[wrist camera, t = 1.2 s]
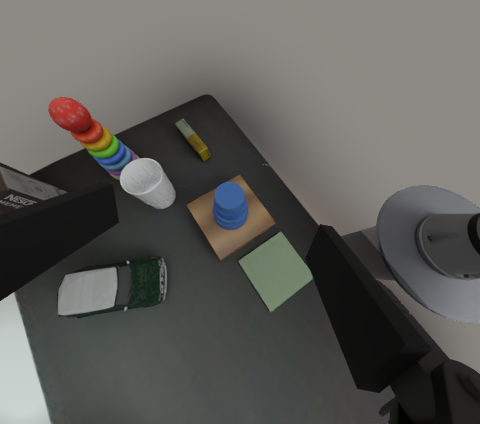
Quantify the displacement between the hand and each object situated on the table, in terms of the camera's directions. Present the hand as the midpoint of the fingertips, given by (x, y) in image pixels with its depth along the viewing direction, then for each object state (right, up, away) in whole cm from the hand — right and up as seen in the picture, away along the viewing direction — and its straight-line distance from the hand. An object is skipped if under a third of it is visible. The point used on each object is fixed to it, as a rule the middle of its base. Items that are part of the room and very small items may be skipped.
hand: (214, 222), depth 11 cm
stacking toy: (-27, +12, +33) cm, 45 cm away
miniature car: (-22, -14, +25) cm, 36 cm away
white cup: (-17, +5, +31) cm, 36 cm away
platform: (0, -1, +30) cm, 30 cm away
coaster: (+10, -12, +26) cm, 30 cm away
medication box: (-11, +19, +36) cm, 42 cm away
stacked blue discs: (0, 0, +26) cm, 26 cm away
